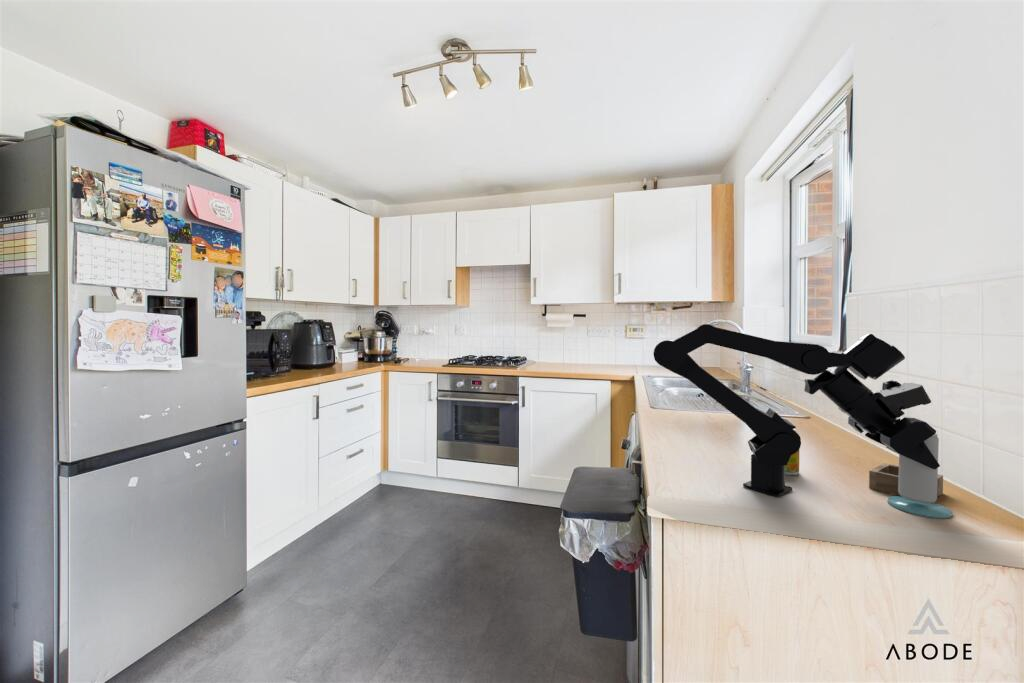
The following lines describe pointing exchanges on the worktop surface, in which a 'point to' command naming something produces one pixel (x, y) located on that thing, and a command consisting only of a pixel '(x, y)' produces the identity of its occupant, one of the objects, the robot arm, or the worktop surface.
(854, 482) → the worktop surface
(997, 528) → the worktop surface
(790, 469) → the supplement bottle
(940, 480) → the square wooden frame
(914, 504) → the teal disc
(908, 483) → the beverage can
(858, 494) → the worktop surface
